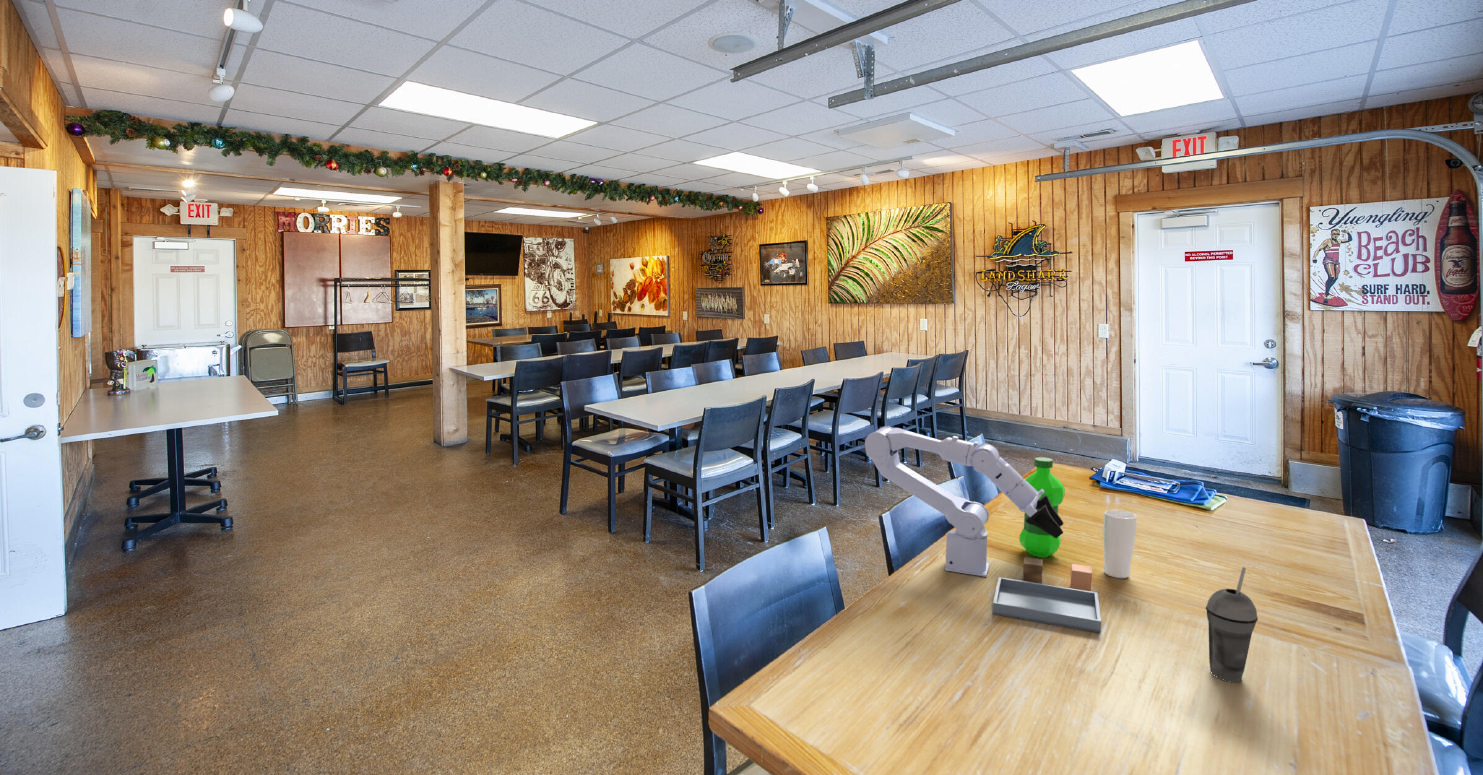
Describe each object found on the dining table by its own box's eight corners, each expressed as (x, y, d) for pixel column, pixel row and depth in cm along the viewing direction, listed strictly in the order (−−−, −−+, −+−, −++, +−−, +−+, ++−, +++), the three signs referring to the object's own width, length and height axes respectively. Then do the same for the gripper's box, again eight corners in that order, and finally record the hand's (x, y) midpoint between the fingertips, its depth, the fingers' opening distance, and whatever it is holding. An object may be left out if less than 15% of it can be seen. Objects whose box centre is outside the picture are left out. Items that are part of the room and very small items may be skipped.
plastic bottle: (1063, 550, 173) (1068, 457, 170) (1057, 564, 164) (1062, 466, 161) (1022, 543, 178) (1026, 452, 175) (1014, 556, 170) (1018, 461, 166)
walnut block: (1022, 583, 154) (1023, 563, 153) (1023, 577, 157) (1024, 557, 157) (1041, 586, 152) (1042, 566, 151) (1041, 579, 156) (1042, 559, 155)
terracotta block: (1070, 591, 150) (1071, 570, 149) (1070, 584, 153) (1071, 563, 152) (1090, 594, 148) (1091, 573, 147) (1089, 587, 151) (1091, 566, 151)
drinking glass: (1137, 581, 154) (1141, 519, 152) (1105, 579, 155) (1109, 517, 153) (1126, 569, 160) (1130, 510, 158) (1096, 568, 162) (1100, 508, 160)
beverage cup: (1200, 659, 121) (1209, 554, 118) (1250, 671, 117) (1260, 563, 114) (1200, 678, 115) (1209, 568, 112) (1253, 692, 111) (1264, 578, 108)
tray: (992, 613, 139) (993, 602, 139) (998, 587, 152) (998, 577, 152) (1100, 633, 131) (1101, 621, 131) (1096, 603, 143) (1097, 592, 143)
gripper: (1025, 481, 147) (1073, 528, 143) (1029, 469, 160) (1073, 511, 156) (1001, 502, 150) (1048, 548, 146) (1007, 488, 163) (1050, 530, 159)
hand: (1060, 530), depth 151 cm, fingers open, 7 cm apart
